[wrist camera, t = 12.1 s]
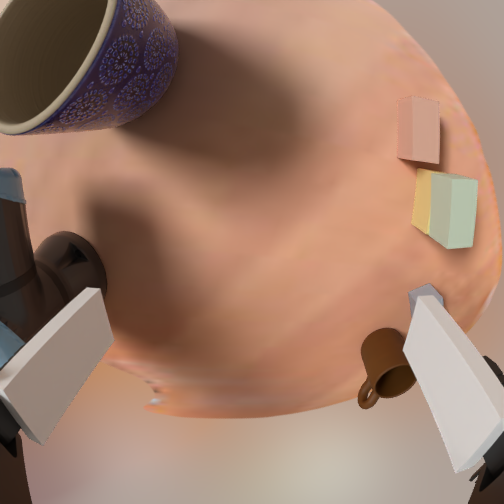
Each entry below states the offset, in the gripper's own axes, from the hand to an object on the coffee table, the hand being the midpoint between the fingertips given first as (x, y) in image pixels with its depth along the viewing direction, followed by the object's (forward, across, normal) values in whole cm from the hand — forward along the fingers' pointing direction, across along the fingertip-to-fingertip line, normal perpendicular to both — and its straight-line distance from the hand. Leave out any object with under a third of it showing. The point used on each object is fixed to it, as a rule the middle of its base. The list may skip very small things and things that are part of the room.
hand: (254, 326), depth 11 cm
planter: (+29, -19, +19) cm, 39 cm away
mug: (+29, +18, -26) cm, 43 cm away
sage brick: (+24, +22, +1) cm, 33 cm away
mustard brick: (+29, +22, +1) cm, 36 cm away
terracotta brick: (+29, +19, +10) cm, 36 cm away
